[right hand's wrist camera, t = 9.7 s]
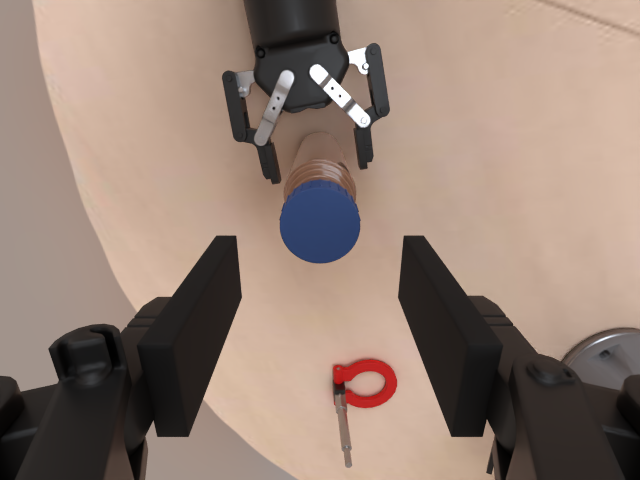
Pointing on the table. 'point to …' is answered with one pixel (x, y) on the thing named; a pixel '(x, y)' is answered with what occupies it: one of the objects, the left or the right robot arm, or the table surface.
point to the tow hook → (363, 402)
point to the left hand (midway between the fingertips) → (319, 175)
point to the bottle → (319, 164)
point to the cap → (319, 221)
